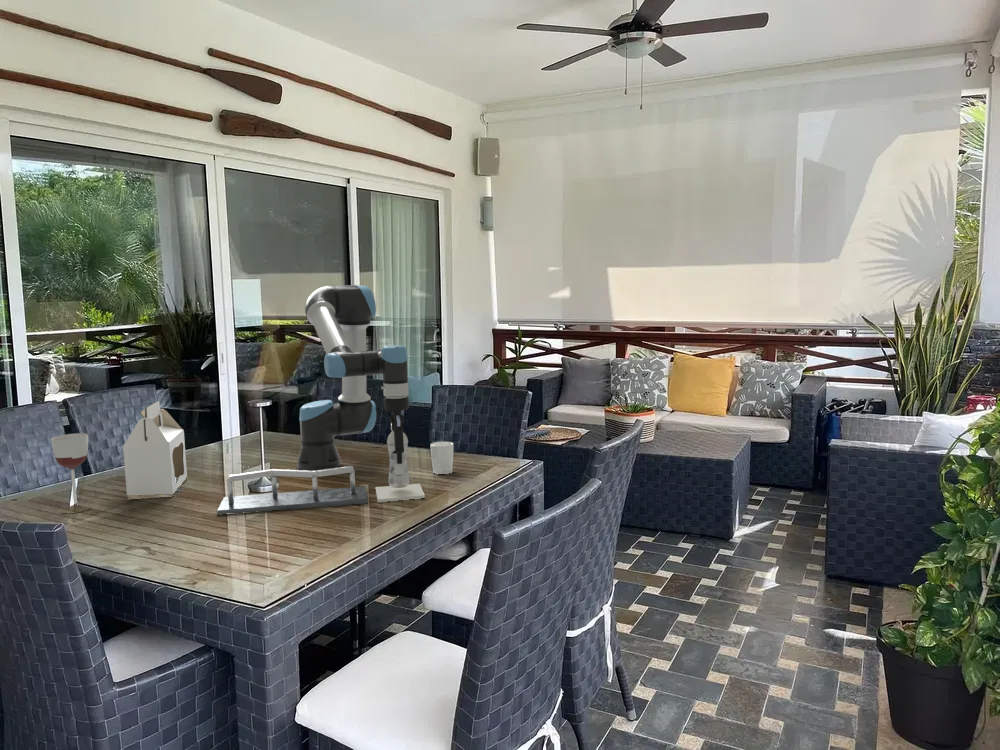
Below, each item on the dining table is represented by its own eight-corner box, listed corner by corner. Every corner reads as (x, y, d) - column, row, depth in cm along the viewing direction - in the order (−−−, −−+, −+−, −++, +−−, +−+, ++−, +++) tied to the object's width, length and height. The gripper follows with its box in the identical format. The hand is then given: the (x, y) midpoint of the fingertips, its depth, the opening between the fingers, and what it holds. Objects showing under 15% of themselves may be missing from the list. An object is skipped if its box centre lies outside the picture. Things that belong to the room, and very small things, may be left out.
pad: (375, 490, 232) (375, 487, 232) (419, 486, 235) (419, 483, 235) (377, 502, 218) (377, 499, 218) (425, 498, 221) (424, 495, 221)
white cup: (455, 469, 256) (455, 441, 255) (451, 475, 248) (451, 446, 247) (433, 469, 257) (432, 441, 256) (429, 475, 249) (428, 446, 248)
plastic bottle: (414, 485, 228) (411, 422, 226) (402, 491, 222) (399, 425, 219) (396, 483, 231) (394, 420, 228) (384, 489, 225) (381, 424, 222)
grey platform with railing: (224, 501, 222) (222, 469, 221) (365, 490, 231) (364, 459, 230) (217, 515, 208) (215, 481, 207) (367, 503, 217) (366, 470, 216)
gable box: (145, 482, 247) (139, 400, 244) (187, 479, 250) (181, 398, 246) (126, 501, 225) (119, 410, 222) (173, 497, 228) (166, 408, 225)
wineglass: (101, 506, 220) (94, 434, 217) (73, 515, 211) (66, 440, 208) (79, 504, 223) (72, 432, 220) (50, 513, 214) (43, 439, 211)
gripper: (381, 392, 231) (384, 464, 234) (385, 401, 213) (388, 479, 215) (405, 391, 233) (407, 462, 236) (411, 400, 214) (414, 477, 217)
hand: (398, 470), depth 226 cm, fingers open, 6 cm apart
